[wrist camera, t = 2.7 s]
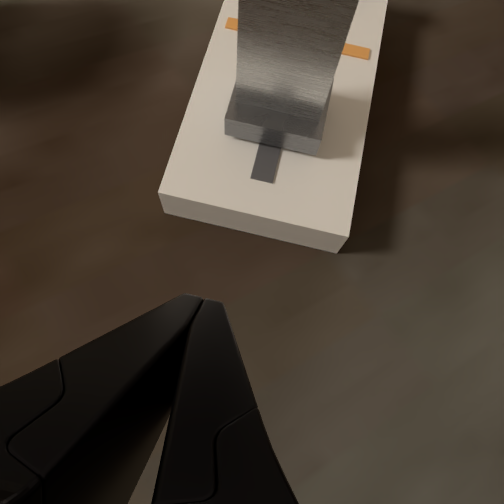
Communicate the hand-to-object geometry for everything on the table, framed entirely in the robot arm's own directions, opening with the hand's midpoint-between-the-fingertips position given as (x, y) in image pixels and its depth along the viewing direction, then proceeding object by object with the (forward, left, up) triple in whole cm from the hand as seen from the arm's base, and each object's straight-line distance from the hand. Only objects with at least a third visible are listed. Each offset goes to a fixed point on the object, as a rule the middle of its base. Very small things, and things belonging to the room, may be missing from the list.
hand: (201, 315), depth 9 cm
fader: (+10, -10, -11) cm, 17 cm away
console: (+12, -12, -14) cm, 21 cm away
